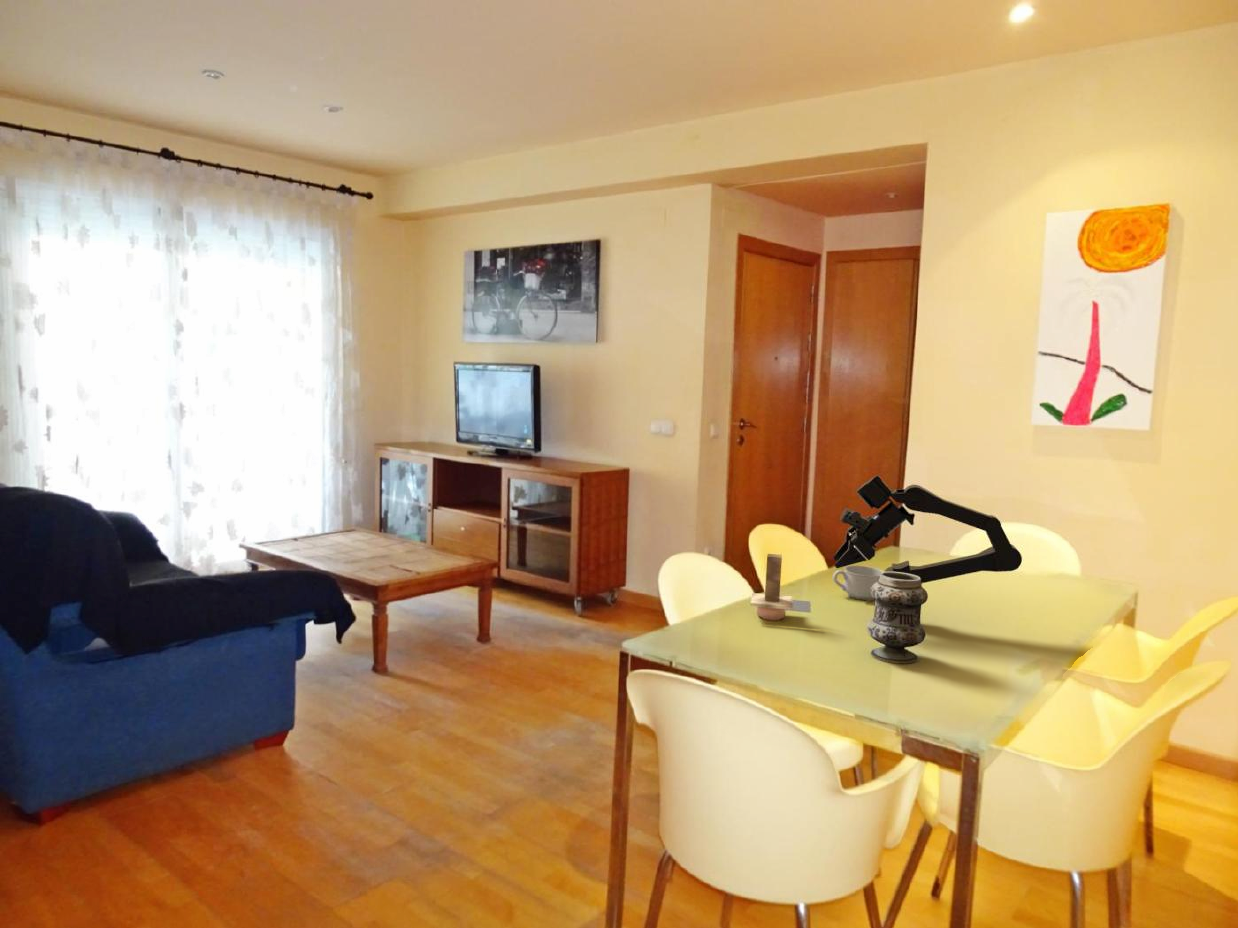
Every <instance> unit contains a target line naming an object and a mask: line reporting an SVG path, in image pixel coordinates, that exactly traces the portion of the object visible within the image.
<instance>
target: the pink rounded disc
mask: <svg viewBox="0 0 1238 928" xmlns="http://www.w3.org/2000/svg"><path fill="white" fill-rule="evenodd" d="M786 611H787V610H786V609H777V608H766V607H756V615H757V616H759V617H760V618H761V619H763V620H767V621H778V620H781V619H783V618H785V617H786V613H787V612H786Z"/></svg>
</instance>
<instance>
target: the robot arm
mask: <svg viewBox="0 0 1238 928" xmlns="http://www.w3.org/2000/svg"><path fill="white" fill-rule="evenodd" d="M855 492H856V494H857V496H859V498H860V499H861V500H863V502H864V503H865V504H866V505H867V506H868V508H870V509H873V508H874V509H876V510H879V509H880V508H881V507H882V508H881V509H880V510H879V511H878V512H876V513H875V514H874V515H869V516H867V517H864V516H863V515H861V512H859V511H857V510H852V509H850V508H848V507H845V509H844V510H843V512H842V514H841V516H840V517H839V519H840V522H842V523H844V524H847V525H849V527H848V528H846V529H847V531H845V541H844V542H843V543H842V545H841V546H840V547H839V549H838V550H837V551H836V552H835V553H834V555H833V557H832V559H833V560H834V561H836V562H835V564H834V567H835V568H836V569H840V568H845V567H846V566H851V565H854V564H858V563H862V562H867V561H871V560H872V559H873V558H874V557H875V556H876V549H875V548H876V547H877V545H878V544H879V543H880V542H881V541H882V540H883V539H887V538H889V537H890V535H889V534H891V533H892V532H893V531H894V530H896V529H897V528H898V527H900V526H901V525H902V524H903V523H904V522H905V521H907V522H908V524H910V526H914V524H915V522H914V519H915V516H916V515H915V513H913V512H912V513H911V512H909V511H908V510H911V511H915V512H920V513H926V514H935V515H940V516H942V517H945V518H948V519H950V520H953V521H955V522H959V523H962V524H965V525H967V526H970V527H973V528H975V529H978V530H981V531H984V532H986V535H987V537H988V539H989V542H990V544H991V546H990V547H988V548H986V549H984V550H982V551H980V552H978V553H976V554H971V555H966V556H961V557H957V558H956V557H955V558H952V559H947V560H942V561H938V562H933V563H928V564H922V565H910V561H909V560H906V561H902V562H900V563H899V562H898V563H892V564H891V566H888V567H887V568H886V569H885V570H884V572H901V573H908V574H912V575H916V576H918V577H920V578H921V584H922V585H923V584H925V583H930V582H935V581H940V580H944V579H950V578H955V577H959V576H963V575H969V574H974V573H978V572H996V573H997V572H1001V573H1002V572H1013V571H1016V570H1017V569H1019V567H1020V566H1021V564H1022V562H1023V557H1022V553H1021V552H1020V551H1019V550H1018V549H1017V547H1015V545H1013V544H1012V543H1010V540H1009V539H1008V536H1007V534H1006V533H1005V530H1004V529H1003V527H1002V523H1001V521H1000V520H999V519H998V518H997V516H994V515H992V514H986V513H984V512H982V511H978V510H975V509H972V508H969V507H966V506H964V505H961V504H959V503H955V502H953V501H949V500H947V499H944V498H942V497H940V496H938V495H937V494H935V493H934V492H932V491H930V490H928V489H927V488H924V487H923V486H921V485H919V484H911V485H907V486H906V487H905V488H903V489H902V488H901V489H890V488H889V486H888V485H887V484H886V483H885V482H884V481H883V479H882V478H881V476H879V475H878V474H876V475H874V476H873V477H872V478H870V479H869V480H868V481H865V482H864V483H863V484H862V485H861V486H859V488H858V489H856V491H855ZM890 497H891V498H890ZM892 499H893V500H892ZM887 502H889V503H887ZM896 503H900V505H898V506H897V504H896ZM885 504H886V505H885ZM904 506H905V507H906V508H907V509H906V508H905V507H904Z"/></svg>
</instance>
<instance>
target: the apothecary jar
mask: <svg viewBox="0 0 1238 928" xmlns="http://www.w3.org/2000/svg"><path fill="white" fill-rule="evenodd" d="M871 595H872V596H873V598H875V599H874V601H875V604H874V613H873V618H872V619H870V621H869V622H868V623H867V625H866V630H867V633H868V635H869V636H870V637H871V638H872V639H873V640H875V641H876V642H878V643H880V644H882V646H880V647H877V648H874V649H872V650H871V652H870V655H871V657H873V658H874V659H877V660H879V661H882V662H887V663H891V664H904V665H906V664H907V665H908V664H913V663H917V662H918V660H919V656H918V655H917V654H915V652H913V651H911V650H908V649H907V648H911V647H914V646H918V645H919V644H921V643H923V641H924V640H925V638H926V630H925V628H924V627H923V626H922V625H921V614H922V612H921V611H922V605H924V604H926V602H927V601H928V597H929V594H928V592H927V590H926V588H924V587H923V583H922V584H921V578H920V577H918V576H916V575H912V574H908V573H901V572H885V571H884V572H882V573H881V574H880V579H879V581H878V582H876V583H875V584H874V585H873V586H872V587H871ZM883 645H884V646H883Z"/></svg>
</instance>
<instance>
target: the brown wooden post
mask: <svg viewBox="0 0 1238 928" xmlns="http://www.w3.org/2000/svg"><path fill="white" fill-rule="evenodd" d="M782 559H783V554H776V553H775V554H774V553H773V554H772V553H767V555H766V573H765V589H764V593H757V592H756V593H755V592H753V593H751V598H750V605H749V606H750V607H756V608H757V607H766V608H777V609H788V610H787V611H790V610H792V609H793V600H794V597H793V596H792V595H791V596H790V595H781V593H780V592H781V580H782V579H781V577H782V575H781V574H782Z"/></svg>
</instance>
